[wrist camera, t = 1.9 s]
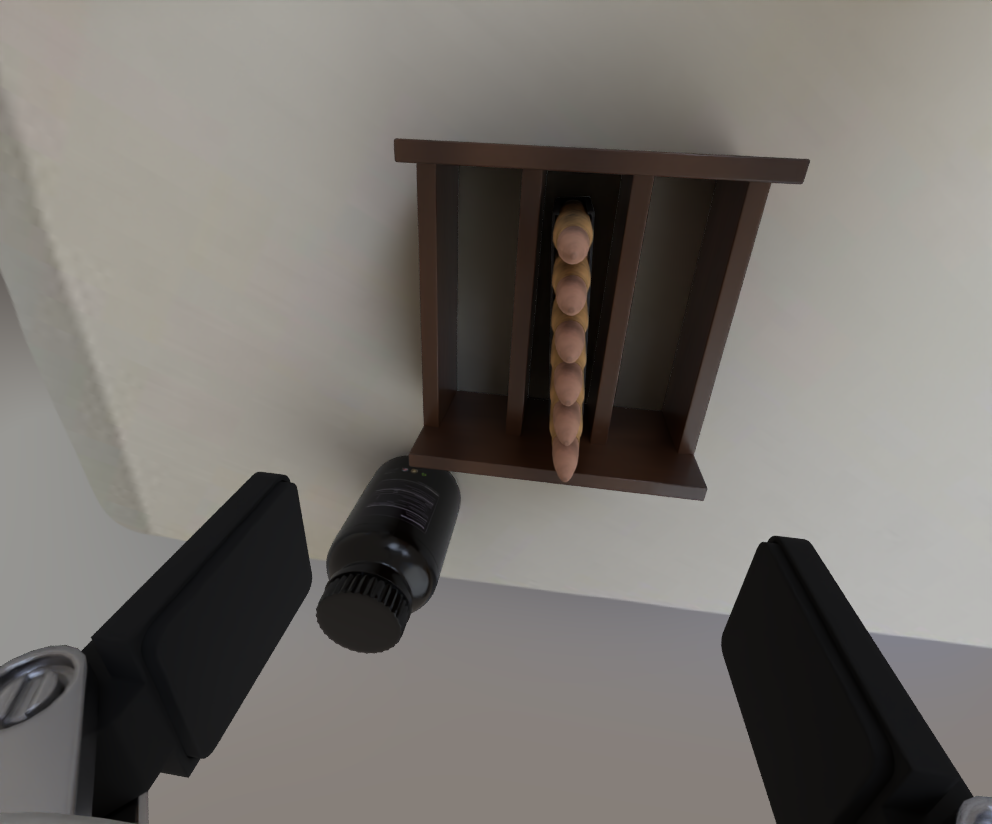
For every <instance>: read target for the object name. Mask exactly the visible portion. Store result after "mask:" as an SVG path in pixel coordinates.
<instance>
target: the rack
mask: <svg viewBox="0 0 992 824" xmlns="http://www.w3.org/2000/svg"><path fill="white" fill-rule="evenodd" d="M394 154H395V161H396V162H404V163H416V167H417V202H418V237H419V273H420V308H421V343H422V379H423V414H424V427H423V429H422V430H421V432H420V434H419V436H418V438H417V440H416V441H415V443H414V445H413V447H412V449H411V451H410V453H409V466H411V467H419V468H428V469H436V470H445V471H453V472H462V473H470V474H479V475H487V476H496V477H504V478H513V479H521V480H530V481H538V482H547V483H555V484H564V485H572V486H581V487H589V488H598V489H606V490H615V491H623V492H632V493H640V494H649V495H657V496H666V497H674V498H683V499H691V500H700V501H704V498H705V495H706V492H707V486H706V484H705V481H704V479H703V477H702V474H701V472H700V469H699V467H698V464H697V462H696V460H695V457H694V452H695V449H696V445H697V442H698V438H699V435H700V431H701V428H702V424H703V421H704V417H705V414H706V410H707V407H708V403H709V400H710V396H711V393H712V389H713V386H714V382H715V379H716V375H717V372H718V368H719V365H720V361H721V358H722V354H723V351H724V347H725V344H726V340H727V337H728V333H729V330H730V326H731V323H732V319H733V316H734V312H735V309H736V305H737V301H738V298H739V294H740V291H741V287H742V284H743V280H744V277H745V273H746V270H747V266H748V263H749V259H750V256H751V252H752V249H753V245H754V242H755V238H756V235H757V231H758V228H759V224H760V221H761V217H762V214H763V210H764V207H765V203H766V200H767V196H768V193H769V189H770V186H771V183H784V184H803V182H804V179H805V176H806V172H807V169H808V166H809V163H810V160H809V159H796V158H776V157H756V156H736V155H716V154H696V153H676V152H657V151H637V150H617V149H597V148H577V147H557V146H537V145H517V144H498V143H478V142H458V141H438V140H418V139H398V138H396V139H394ZM459 166H476V167H494V168H512V169H522V182H521V198H520V213H519V229H518V244H517V260H516V276H515V291H514V307H513V322H512V338H511V354H510V369H509V385H508V396H506V395H496V394H486V393H477V392H467V391H457V304H458V186H459ZM547 171H567V172H585V173H603V174H621V175H622V176H621V183H620V189H619V196H618V202H617V209H616V216H615V222H614V229H613V235H612V242H611V249H610V255H609V262H608V268H607V275H606V281H605V288H604V295H603V301H602V308H601V314H600V321H599V328H598V334H597V341H596V347H595V354H594V361H593V367H592V374H591V380H590V387H589V394H588V400H587V404H585V403H584V414H583V416H582V417H583V428H582V433H581V436H580V441H579V456H578V462H577V466H576V469H575V471H574V473H573V475H572V477H571V479H570V480H569V481H567V482H563V481H562V480H561V479H560V478H559V477H558V475H557V472H556V470H555V467H554V463H553V456H552V448H553V447H552V436H551V433H550V430H549V423H550V415H549V400H546V399H536V398H528V391H529V379H530V368H531V356H532V345H533V333H534V321H535V310H536V298H537V287H538V275H539V263H540V252H541V240H542V229H543V217H544V205H545V194H546V182H547ZM655 176H657V177H675V178H693V179H711V180H717V181H716V185H715V189H714V193H713V197H712V202H711V206H710V210H709V214H708V219H707V223H706V227H705V231H704V236H703V240H702V244H701V248H700V253H699V257H698V261H697V265H696V269H695V274H694V278H693V282H692V286H691V291H690V295H689V299H688V303H687V308H686V312H685V316H684V320H683V324H682V329H681V333H680V337H679V341H678V346H677V350H676V354H675V358H674V363H673V367H672V371H671V375H670V380H669V384H668V388H667V392H666V396H665V401H664V405H663V409H662V411H655V410H645V409H635V408H625V407H615V406H613V404H614V399H615V393H616V388H617V382H618V377H619V371H620V366H621V360H622V355H623V349H624V344H625V338H626V332H627V327H628V321H629V316H630V310H631V305H632V299H633V294H634V288H635V283H636V277H637V272H638V266H639V261H640V255H641V250H642V244H643V239H644V233H645V228H646V222H647V216H648V211H649V205H650V200H651V194H652V189H653V183H654V178H655Z"/></svg>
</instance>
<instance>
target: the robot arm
mask: <svg viewBox="0 0 992 824" xmlns="http://www.w3.org/2000/svg"><path fill="white" fill-rule="evenodd" d="M311 583H312V572H311V566H310V561H309V555H308V549H307V543H306V537H305V531H304V525H303V519H302V514H301V508H300V502H299V496H298V490H297V486H296V485H295V484H294V483H291V482H290V479H289V478H288V476H286V475H282V474H274V473H266V472H257V473H255V474H254V475H253V476H252V477H251V478H250V479H249V480H248V481H247V482H246V483H245V484H244V485H243V486H242V487H241V488H240V489H239V490H238V491H237V492H236V493H235V494H234V495H233V496H232V497H231V498H230V499H229V500H228V501H227V502H226V503H225V504H224V505H223V506H222V507H221V508H220V509H219V510H218V511H217V512H216V513H215V514H214V515H213V516H212V517H211V518H210V519H209V520H208V521H207V522H206V523H205V524H204V525H203V526H202V527H201V528H200V529H199V530H198V531H197V532H196V533H195V534H194V535H193V536H192V537H191V538H190V539H189V540H188V541H187V542H186V543H185V544H184V545H183V546H182V547H181V548H180V549H179V550H178V551H177V552H176V553H175V554H174V555H173V556H172V557H171V558H170V559H169V560H168V561H167V562H166V563H165V564H164V565H163V566H162V567H161V568H160V569H159V570H158V571H157V572H156V573H155V574H154V575H153V576H152V577H151V578H150V579H149V580H148V581H147V582H146V583H145V584H144V585H143V586H142V587H141V588H140V589H139V590H138V591H137V592H136V593H135V594H134V595H133V596H132V597H131V598H130V599H129V600H128V601H127V602H126V603H125V604H124V605H123V606H122V607H121V608H120V609H119V610H118V611H117V612H116V613H115V614H114V615H113V616H112V617H111V618H110V619H109V620H108V621H107V622H106V623H105V624H104V625H103V626H102V627H101V628H100V629H99V630H98V631H97V632H96V633H95V634H94V635H93V636H92V637H91V638H92V641H91V642H90V643H89V644H88V645H87V646H86V647H85V648H84V649H83V650H82V651H80V650H79V649H78V648H74V647H71V646H67V645H60V646H48V647H44V648H41V649H37V650H33V651H30V652H28V653H26V654H23V655H21V656H19V657H16V658H14V659H12V660H10V661H8V662H7V663H5V664H4V665H2V666H0V824H148V790H149V789H150V787H151V786H152V784H153V783H154V781H155V780H156V778H157V777H158V775H159V774H160V772H161V773H166V774H172V775H177V776H182V777H189V776H190V775H191V773H192V772H193V770H194V768H195V766H196V765H197V763H198V762H199V760H200V758H201V759H202V758H203V759H204V758H206V757H208V756H209V755H210V754H211V753H212V752H213V750H214V749H215V747H216V746H217V744H218V742H219V741H220V739H221V737H222V736H223V734H224V733H225V731H226V729H227V728H228V726H229V724H230V723H231V721H232V719H233V718H234V716H235V714H236V713H237V711H238V709H239V708H240V706H241V704H242V703H243V701H244V699H245V698H246V696H247V694H248V693H249V691H250V689H251V688H252V686H253V684H254V683H255V681H256V679H257V677H258V676H259V674H260V673H261V671H262V669H263V667H264V666H265V664H266V662H267V661H268V659H269V657H270V656H271V654H272V652H273V651H274V649H275V647H276V646H277V644H278V642H279V641H280V639H281V637H282V636H283V634H284V632H285V631H286V629H287V627H288V626H289V624H290V622H291V621H292V619H293V617H294V615H295V614H296V612H297V611H298V609H299V607H300V606H301V604H302V602H303V601H304V599H305V597H306V596H307V594H308V592H309V590H310V587H311ZM721 643H722V644H721V646H722V652H723V656H724V659H725V663H726V666H727V669H728V672H729V675H730V678H731V681H732V685H733V688H734V691H735V694H736V697H737V701H738V703H739V707H740V710H741V713H742V716H743V719H744V722H745V725H746V729H747V732H748V735H749V738H750V741H751V744H752V748H753V751H754V754H755V757H756V760H757V764H758V767H759V770H760V773H761V776H762V779H763V782H764V786H765V789H766V792H767V795H768V798H769V801H770V805H771V808H772V811H773V814H774V817H775V820H776V823H777V824H992V797H983V796H975V797H973V795H972V794H971V792H970V790H969V789H968V787H967V786H966V784H965V783H964V781H963V779H962V778H961V776H960V775H959V773H958V772H957V770H956V768H955V767H954V766H953V764H952V762H951V761H950V759H949V758H948V756H947V754H946V753H945V751H944V750H943V748H942V747H941V745H940V743H939V742H938V740H937V739H936V737H935V736H934V734H933V733H932V731H931V729H930V728H929V726H928V725H927V723H926V722H925V720H924V719H923V717H922V715H921V714H920V712H919V711H918V709H917V708H916V706H915V705H914V703H913V701H912V700H911V698H910V697H909V695H908V694H907V692H906V690H905V689H904V687H903V686H902V684H901V683H900V681H899V680H898V678H897V676H896V675H895V673H894V672H893V670H892V669H891V667H890V665H889V664H888V662H887V661H886V659H885V658H884V656H883V655H882V653H881V651H880V650H879V648H878V647H877V645H876V644H875V642H874V641H873V639H872V637H871V636H870V634H869V633H868V631H867V630H866V628H865V627H864V625H863V624H862V622H861V620H860V619H859V617H858V616H857V614H856V613H855V611H854V609H853V608H852V606H851V605H850V603H849V602H848V600H847V599H846V597H845V595H844V594H843V592H842V591H841V589H840V588H839V586H838V585H837V583H836V581H835V580H834V578H833V577H832V575H831V574H830V572H829V570H828V569H827V567H826V566H825V564H824V563H823V561H822V560H821V558H820V556H819V555H818V553H817V552H816V550H815V549H814V547H813V545H812V544H811V543H810V542H809V541H807V540H805V539H798V538H790V537H781V536H772V537H771V538H770V539H769V540H768V542H761V543H760V544H759V546H758V548H757V550H756V553H755V555H754V558H753V560H752V563H751V565H750V567H749V570H748V572H747V575H746V577H745V580H744V582H743V585H742V587H741V590H740V592H739V595H738V597H737V600H736V602H735V604H734V607H733V609H732V612H731V614H730V617H729V619H728V622H727V624H726V627H725V629H724V632H723V635H722V642H721Z"/></svg>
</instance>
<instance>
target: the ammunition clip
mask: <svg viewBox="0 0 992 824" xmlns="http://www.w3.org/2000/svg"><path fill="white" fill-rule="evenodd" d="M594 215H595V212H594V209H593V205H592V201H591V198H590V197H589V196H588V197H557V198H556V199H555V203H554V208H553V212H552V251H551V307H550V364H549V415H550V423H549V430H550V433H551V436H552V447H553V448H552V456H553V463H554V467H555V470H556V472H557V475H558V477H559V478H560V479H561V480H562V481H563V482H567V481H569V480H570V479H571V477H572V475H573V473H574V471H575V469H576V466H577V462H578V456H579V441H580V436H581V433H582V428H583V417H582V416H583V414H584V396H585V378H586V360H587V342H588V324H589V306H590V287H591V269H592V251H593V233H594Z"/></svg>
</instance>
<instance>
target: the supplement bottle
mask: <svg viewBox="0 0 992 824" xmlns="http://www.w3.org/2000/svg"><path fill="white" fill-rule="evenodd" d="M460 503H461V497H460V491H459V487H458V485H457V483H456V481H455V479H454V478H453V476H452V475H451V474H450V473H449V472H448V471H445V470H436V469H428V468H419V467H411V466H409V456H401V457H397V458H394V459H391V460H389V461H388V462H386V463H384V464H383V465H382V466H381V467H380V468H379V469H378V470H377V472H376V473H375V474H374V476H373V478H372V479H371V481H370V482H369V484H368V485H367V487H366V489H365V490H364V492H363V494H362V495H361V497H360V499H359V500H358V502H357V503H356V505H355V507H354V508H353V510H352V512H351V513H350V515H349V517H348V518H347V520H346V522H345V523H344V525H343V526H342V528H341V530H340V531H339V533H338V535H337V536H336V538H335V540H334V541H333V543H332V545H331V547H330V549H329V552H328V555H327V561H326V564H327V565H326V566H327V574H328V578H329V581H328V583H327V585H326V587H325V591H324V594H323V595H322V597H321V599H320V601H319V603H318V606H317V608H316V611H317V614H316V617H317V622H318V623H319V625H320V628H321V629H322V630H323V632H324V634H326V635H327V636H328V637H329V639H331V640H333V641H334V642H335V643H336V644H339V645H341V646H342V647H344V648H348V649H349V650H352V651H356V652H363V653H377V652H383V651H385V650H389V649H390V648H392V647H394V646H395V644H397V643H398V642H399V640H400V638H401V637H402V635H403V631H404V629H405V626H406V623H407V622H408V620H409V618H410V615H411V613H413V612H415V611H417V610H418V609H420V608H421V607H422V606H424V605H425V604H426V603H427V602H428V601H429V599H430V598H431V596H432V595H433V593H434V591H435V588H436V586H437V583H438V579H439V576H440V573H441V569H442V566H443V563H444V559H445V556H446V553H447V549H448V546H449V543H450V539H451V536H452V533H453V529H454V526H455V523H456V519H457V516H458V512H459V509H460Z"/></svg>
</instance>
